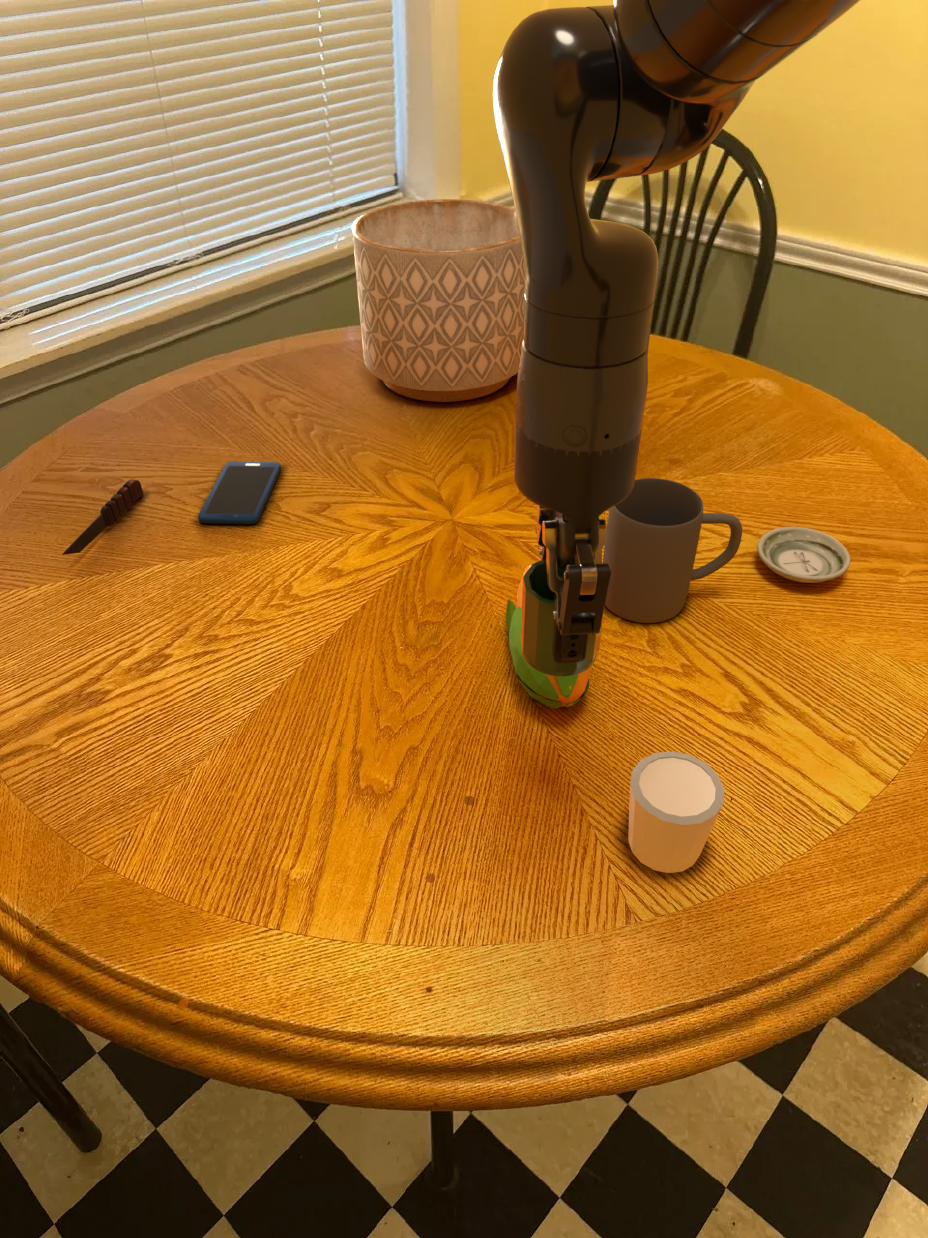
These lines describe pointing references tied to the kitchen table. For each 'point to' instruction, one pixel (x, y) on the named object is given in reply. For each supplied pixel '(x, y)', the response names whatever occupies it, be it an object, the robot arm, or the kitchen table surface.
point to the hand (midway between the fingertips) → (561, 628)
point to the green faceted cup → (547, 626)
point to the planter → (440, 297)
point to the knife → (108, 514)
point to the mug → (658, 549)
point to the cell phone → (240, 493)
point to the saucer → (803, 554)
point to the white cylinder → (672, 810)
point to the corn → (534, 682)
